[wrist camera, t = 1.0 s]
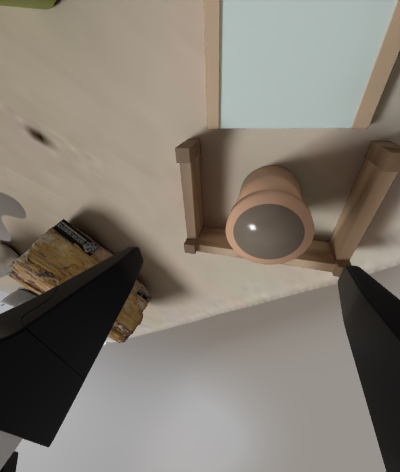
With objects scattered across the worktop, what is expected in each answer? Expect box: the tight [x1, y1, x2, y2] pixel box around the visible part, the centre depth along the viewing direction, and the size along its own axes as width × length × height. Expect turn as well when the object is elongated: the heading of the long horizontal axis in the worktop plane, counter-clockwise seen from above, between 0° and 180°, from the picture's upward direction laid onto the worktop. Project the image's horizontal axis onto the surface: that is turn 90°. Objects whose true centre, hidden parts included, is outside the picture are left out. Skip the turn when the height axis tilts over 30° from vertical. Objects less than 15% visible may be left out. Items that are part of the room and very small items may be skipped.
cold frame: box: [175, 139, 400, 277], centre depth 19 cm, size 16×11×4 cm
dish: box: [0, 290, 37, 308], centre depth 56 cm, size 14×14×5 cm
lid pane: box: [204, 0, 400, 129], centre depth 13 cm, size 12×11×1 cm
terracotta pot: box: [226, 166, 315, 264], centre depth 18 cm, size 6×6×7 cm
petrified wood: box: [9, 219, 151, 343], centre depth 33 cm, size 19×13×10 cm
